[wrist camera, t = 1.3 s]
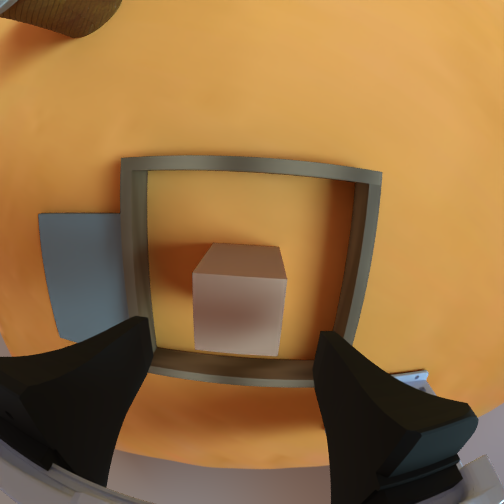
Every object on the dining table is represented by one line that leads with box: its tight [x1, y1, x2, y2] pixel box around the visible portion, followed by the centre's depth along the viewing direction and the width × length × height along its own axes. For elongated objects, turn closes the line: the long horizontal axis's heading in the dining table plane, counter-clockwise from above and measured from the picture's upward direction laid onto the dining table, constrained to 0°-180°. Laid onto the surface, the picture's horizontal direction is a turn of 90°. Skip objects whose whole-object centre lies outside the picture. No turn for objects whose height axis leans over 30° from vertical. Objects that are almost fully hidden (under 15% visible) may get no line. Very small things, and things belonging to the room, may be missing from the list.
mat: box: [38, 213, 129, 343], centre depth 19 cm, size 10×12×1 cm
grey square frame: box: [120, 155, 382, 387], centre depth 18 cm, size 16×16×2 cm
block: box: [192, 243, 287, 356], centre depth 16 cm, size 4×4×6 cm
